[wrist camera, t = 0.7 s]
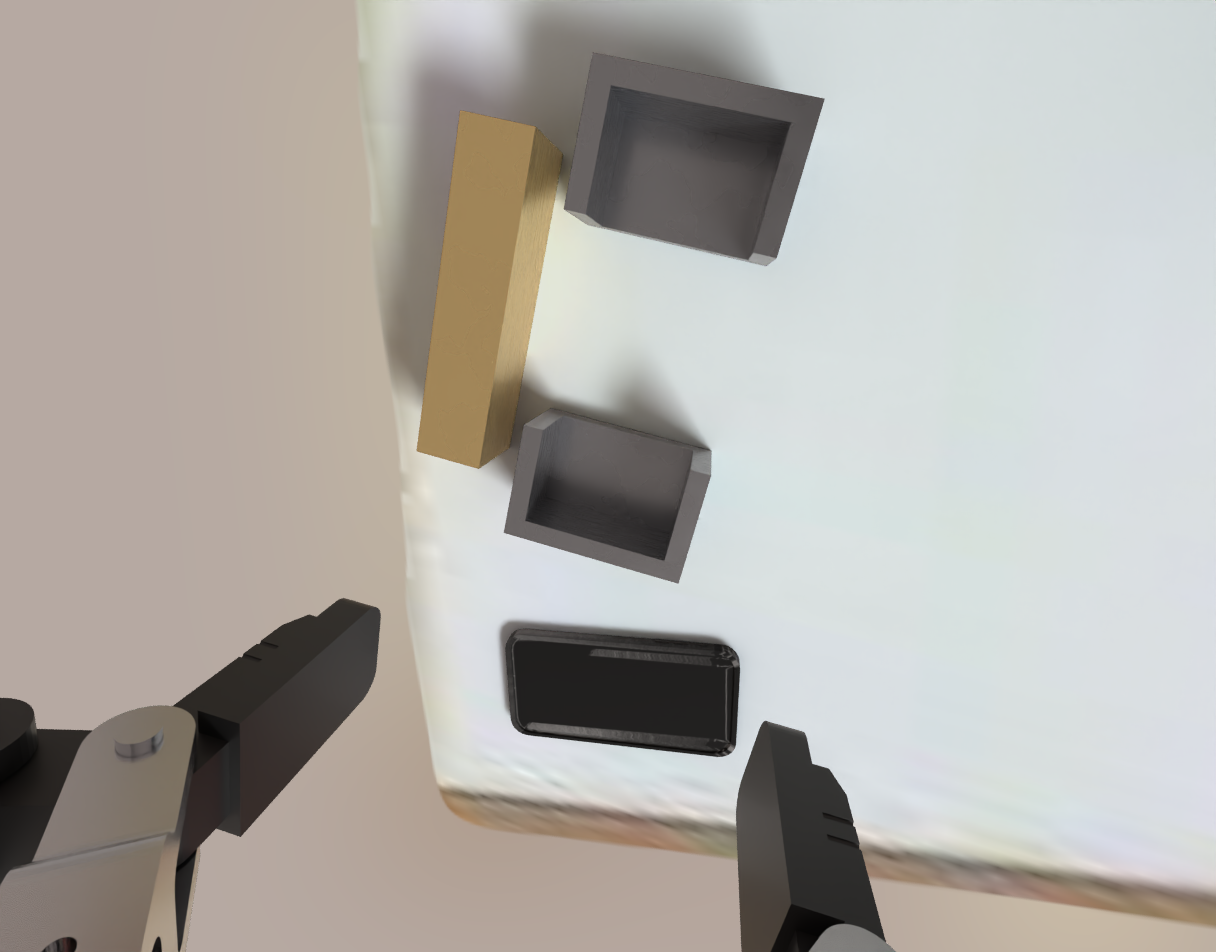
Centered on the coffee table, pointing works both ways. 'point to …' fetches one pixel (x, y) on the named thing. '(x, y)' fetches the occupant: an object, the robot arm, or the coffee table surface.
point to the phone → (624, 691)
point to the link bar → (487, 287)
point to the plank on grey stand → (671, 213)
